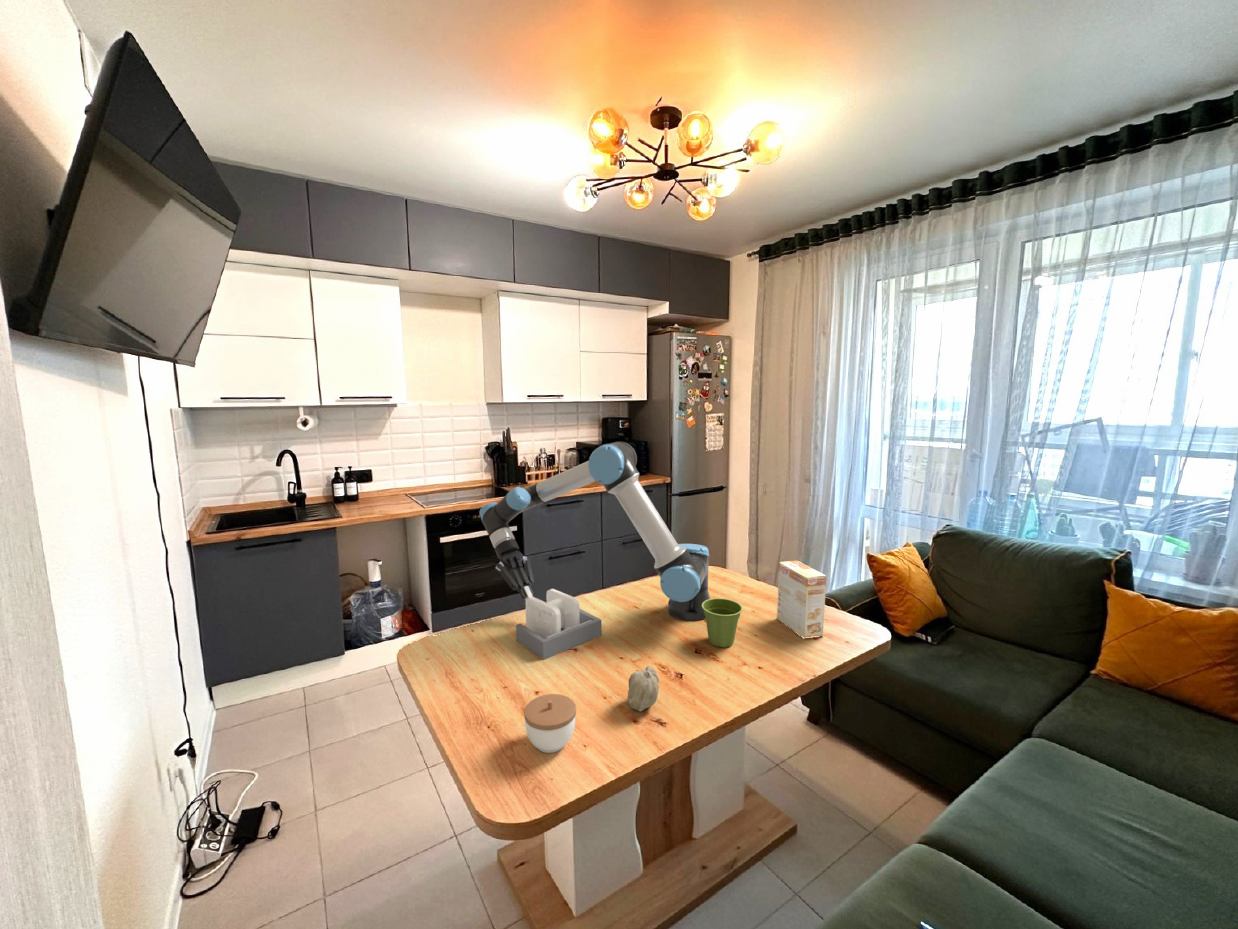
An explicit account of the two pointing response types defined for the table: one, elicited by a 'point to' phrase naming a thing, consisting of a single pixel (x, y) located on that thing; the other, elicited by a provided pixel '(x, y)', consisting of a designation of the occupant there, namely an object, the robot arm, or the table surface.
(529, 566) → the robot arm
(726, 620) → the plant pot
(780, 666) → the table surface
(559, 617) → the cable organizer
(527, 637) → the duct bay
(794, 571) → the coffeecake box
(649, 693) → the grey lumpy rounded piece
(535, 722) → the lidded jar
